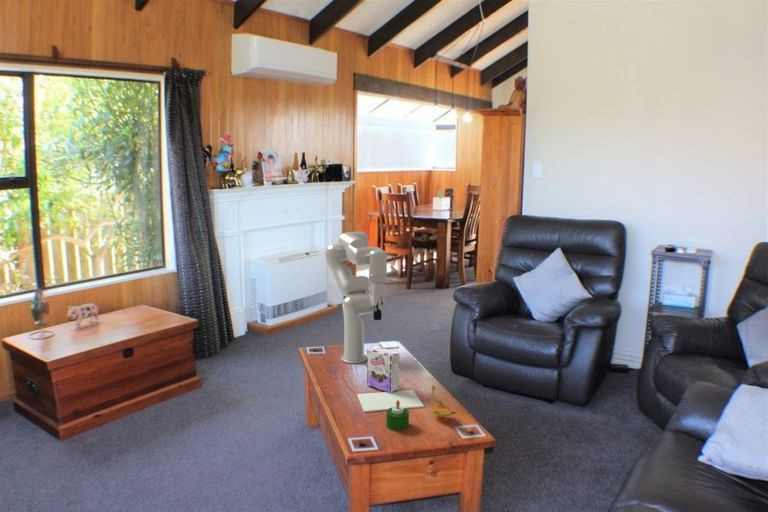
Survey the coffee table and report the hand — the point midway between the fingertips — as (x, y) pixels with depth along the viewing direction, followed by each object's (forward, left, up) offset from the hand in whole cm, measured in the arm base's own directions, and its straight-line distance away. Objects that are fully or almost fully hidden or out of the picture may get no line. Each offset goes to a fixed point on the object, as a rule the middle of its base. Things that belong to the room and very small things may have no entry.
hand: (377, 319), depth 256 cm
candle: (+47, -2, -27) cm, 54 cm away
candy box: (+13, 0, -27) cm, 30 cm away
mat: (+26, 0, -27) cm, 37 cm away
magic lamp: (+46, +16, -27) cm, 56 cm away
